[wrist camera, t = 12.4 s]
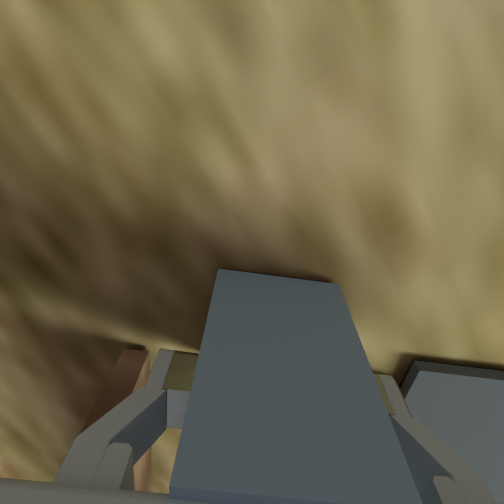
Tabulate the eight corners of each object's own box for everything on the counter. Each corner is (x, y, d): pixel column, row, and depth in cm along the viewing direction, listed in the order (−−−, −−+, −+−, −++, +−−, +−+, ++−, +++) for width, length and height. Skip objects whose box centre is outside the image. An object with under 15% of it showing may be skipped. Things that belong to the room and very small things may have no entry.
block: (312, 369, 16) (353, 605, 9) (208, 357, 16) (165, 589, 8) (338, 284, 13) (425, 511, 6) (218, 268, 13) (169, 486, 6)
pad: (510, 494, 20) (517, 505, 20) (354, 477, 20) (356, 488, 19) (615, 384, 16) (627, 395, 15) (414, 360, 15) (419, 370, 15)
